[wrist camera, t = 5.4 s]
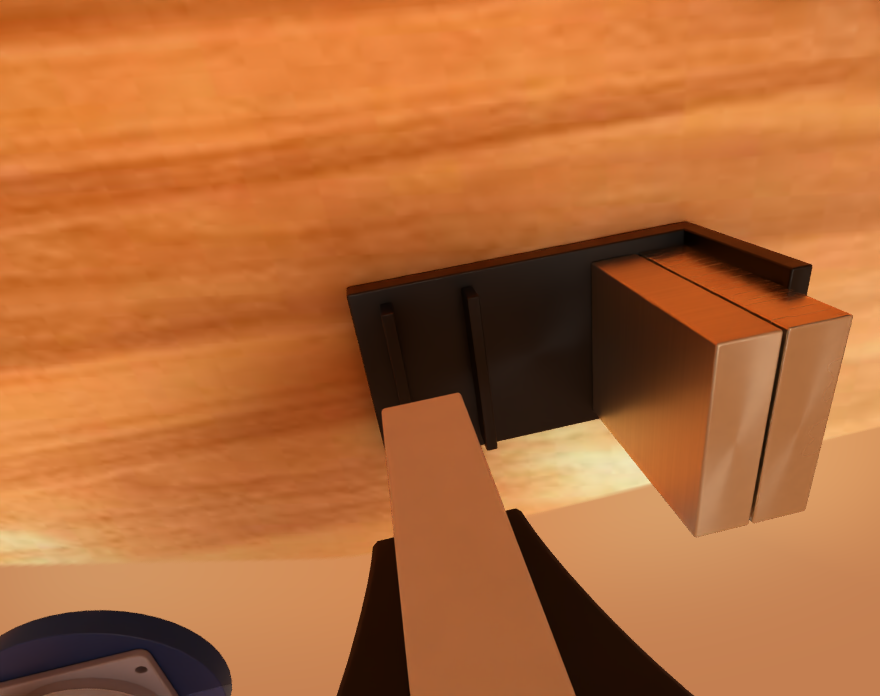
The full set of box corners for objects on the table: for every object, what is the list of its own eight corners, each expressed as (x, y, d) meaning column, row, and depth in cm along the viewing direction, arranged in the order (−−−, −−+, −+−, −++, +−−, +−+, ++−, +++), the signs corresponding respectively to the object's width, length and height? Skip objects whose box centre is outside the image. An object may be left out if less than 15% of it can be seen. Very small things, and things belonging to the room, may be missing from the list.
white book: (460, 390, 10) (611, 785, 4) (491, 591, 13) (609, 997, 7) (380, 407, 10) (423, 837, 4) (429, 606, 13) (496, 1033, 7)
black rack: (687, 220, 18) (884, 288, 11) (674, 389, 21) (822, 519, 14) (346, 287, 17) (345, 404, 10) (387, 453, 20) (406, 623, 13)
